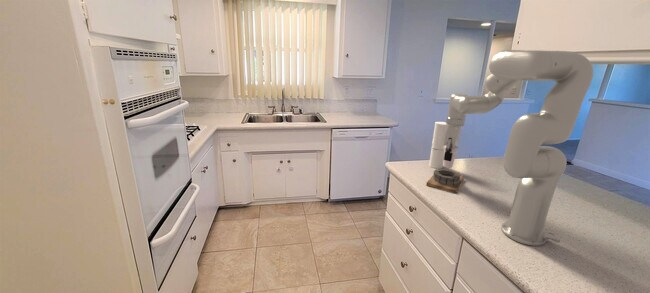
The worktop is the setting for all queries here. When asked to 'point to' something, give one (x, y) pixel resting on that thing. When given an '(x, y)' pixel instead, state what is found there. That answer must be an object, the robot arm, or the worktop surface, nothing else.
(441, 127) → the cylindrical container
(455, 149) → the smoothie
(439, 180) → the block
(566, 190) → the worktop surface
